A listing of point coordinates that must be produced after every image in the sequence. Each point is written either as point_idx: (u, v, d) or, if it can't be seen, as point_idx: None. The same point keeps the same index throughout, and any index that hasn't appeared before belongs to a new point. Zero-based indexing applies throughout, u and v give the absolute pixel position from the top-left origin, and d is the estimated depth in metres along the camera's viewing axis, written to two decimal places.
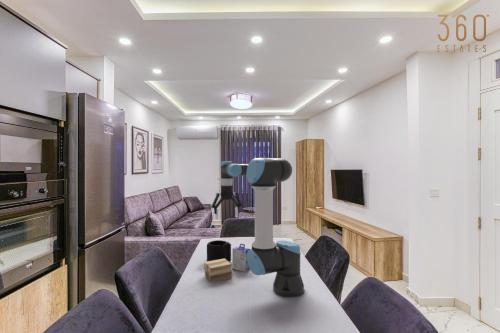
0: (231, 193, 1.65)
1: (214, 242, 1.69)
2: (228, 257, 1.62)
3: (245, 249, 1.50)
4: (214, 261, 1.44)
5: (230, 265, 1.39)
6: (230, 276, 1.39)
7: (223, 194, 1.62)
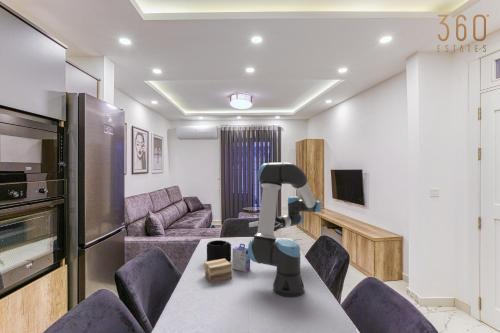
0: (278, 222, 1.62)
1: (214, 242, 1.69)
2: (228, 257, 1.62)
3: (245, 249, 1.50)
4: (214, 261, 1.44)
5: (230, 265, 1.39)
6: (230, 276, 1.39)
7: None
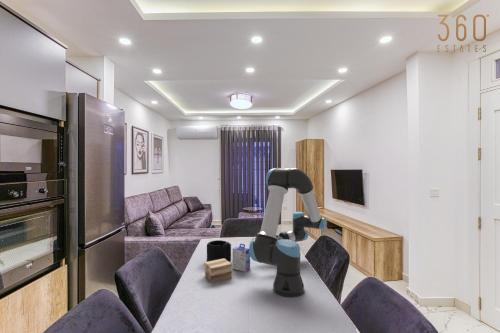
0: (282, 238, 1.62)
1: (214, 242, 1.69)
2: (228, 257, 1.62)
3: (245, 249, 1.50)
4: (214, 261, 1.44)
5: (230, 265, 1.40)
6: (230, 276, 1.39)
7: None
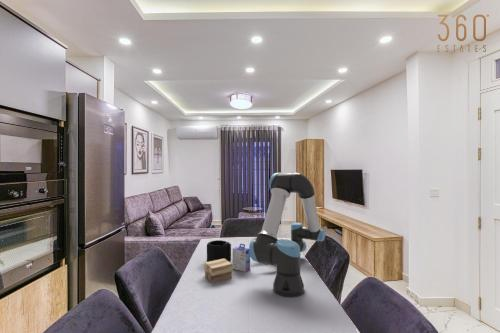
0: None
1: (214, 242, 1.69)
2: (228, 257, 1.62)
3: (245, 249, 1.50)
4: (214, 261, 1.44)
5: (231, 265, 1.40)
6: (230, 276, 1.39)
7: None
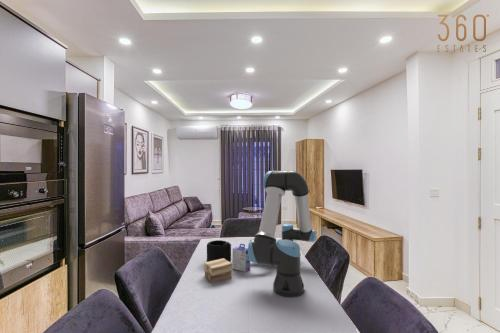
0: None
1: (214, 242, 1.69)
2: (228, 257, 1.62)
3: (245, 249, 1.50)
4: (214, 261, 1.44)
5: (231, 264, 1.40)
6: (230, 276, 1.39)
7: None
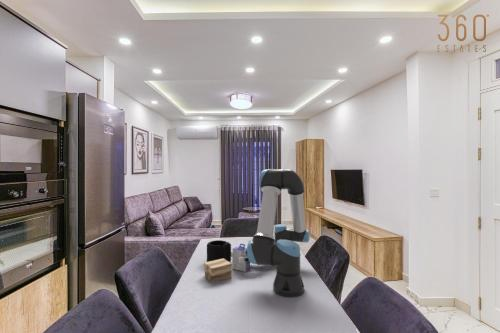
0: None
1: (214, 242, 1.69)
2: (228, 257, 1.62)
3: (245, 249, 1.50)
4: (214, 261, 1.44)
5: (230, 265, 1.40)
6: (230, 276, 1.39)
7: None
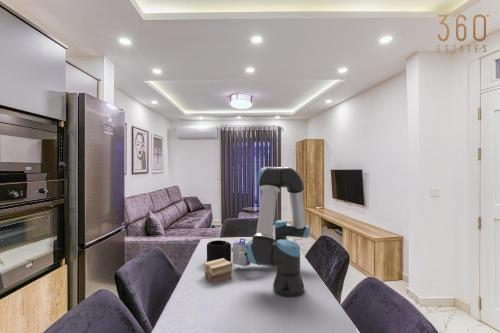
0: None
1: (214, 242, 1.69)
2: (228, 257, 1.62)
3: (245, 244, 1.51)
4: (214, 261, 1.44)
5: (230, 264, 1.41)
6: (230, 276, 1.39)
7: None
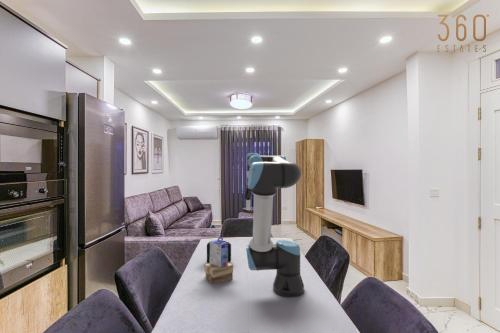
0: None
1: None
2: (228, 257, 1.62)
3: (222, 243, 1.38)
4: None
5: (232, 266, 1.39)
6: (231, 278, 1.37)
7: None
